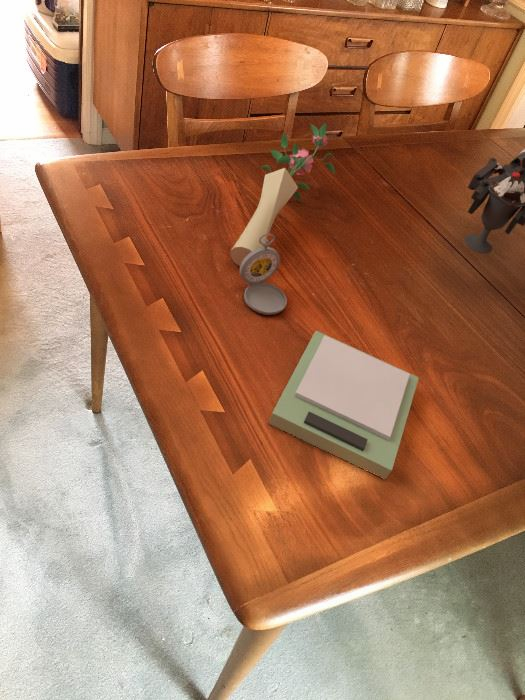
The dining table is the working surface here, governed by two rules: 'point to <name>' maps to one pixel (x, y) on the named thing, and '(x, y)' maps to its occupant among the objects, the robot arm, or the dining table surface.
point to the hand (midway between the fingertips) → (492, 215)
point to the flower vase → (277, 193)
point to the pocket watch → (259, 293)
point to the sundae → (499, 209)
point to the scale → (347, 404)
